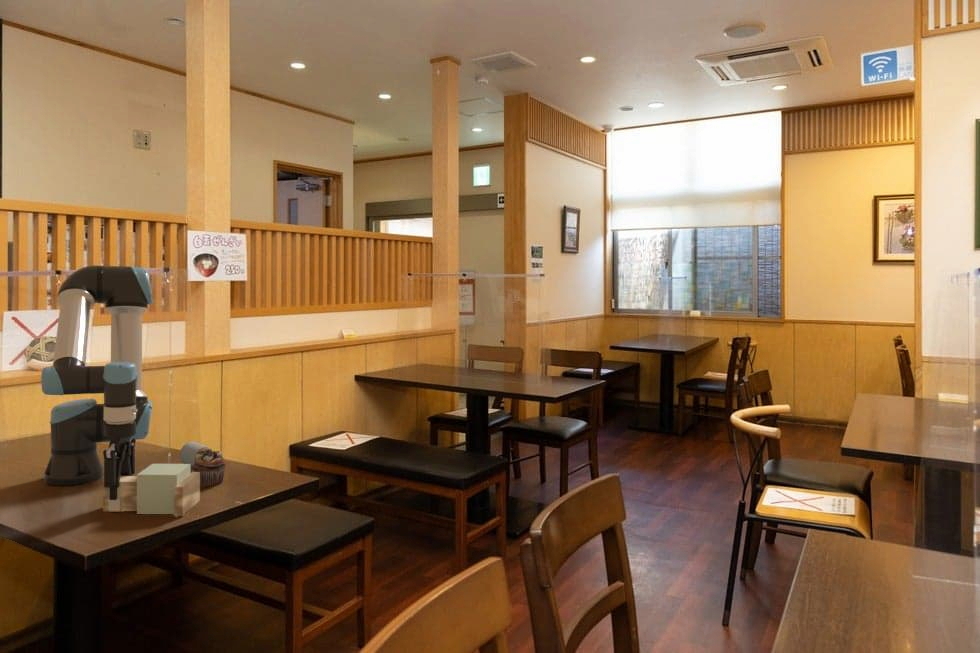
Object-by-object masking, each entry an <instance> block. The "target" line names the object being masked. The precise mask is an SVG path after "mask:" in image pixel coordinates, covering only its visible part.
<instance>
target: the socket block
mask: <svg viewBox="0 0 980 653" xmlns="http://www.w3.org/2000/svg"><path fill="white" fill-rule="evenodd" d="M191 468H192V466H191V464H183V463H151V464H150V465H148V466H146V468H144V469H142V470H141V471H140V472H138V473H137V474H136V476H137V512H136V515H137V514H175V486H177V485H178V484H179V483H180V482H181V481H182V480H184V479H185V478H186V477H187V476H188V475H190V474H191V473H192V469H191Z"/></svg>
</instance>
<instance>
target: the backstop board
mask: <svg viewBox="0 0 980 653" xmlns="http://www.w3.org/2000/svg"><path fill="white" fill-rule="evenodd" d="M200 500H201V486H200V472H192V471H191V474H190V475H188V476H187V477H186V478H185V479H184V480H182V481H181V482H180V483H179V484H178V485H177V486H175V515H174V517H175V516H183V515H184V514H185V513H186V512H187V511H188V510H189V509H190V508H191V509H193V507H195V506H196V504H198V503H199V502H200ZM191 509H190V510H191ZM190 510H189V511H190ZM189 511H188V512H189ZM188 512H187V513H188ZM187 513H186V514H187ZM186 514H185V515H186ZM185 515H184V516H185ZM184 516H183V517H184Z"/></svg>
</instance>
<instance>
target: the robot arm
mask: <svg viewBox="0 0 980 653" xmlns="http://www.w3.org/2000/svg"><path fill="white" fill-rule="evenodd" d="M151 287H152V286H151V281H150V275H149V271H148V270H147V269H146V268H144V267H138V266H121V265H119V266H117V265H116V266H115V265H114V266H113V265H94V264H93V265H88V266H87V265H86V266H84V267H81V268H79V269H77V270H75V271H73V272H72V273H71V274H69V275H68V277H66V279H65V280H64V281H63V282H62V283H61V285H60V286H59V288H58V292H57V295H56V297H57V298H56V303H57V305H58V307H59V311H58V312H59V314H58V319H57V320H58V321H57V329H56V337H55V343H54V344H55V345H54V351H53V352H54V354H53V361H52V365H51V366H47V367H43V369H42V371H41V377H40V378H41V379H40V383H41V386H40V387H41V390H42V394H44V395H46V396H47V395H48V396H66V395H68V396H69V395H84V394H85V395H86V394H87V395H89V394H91V395H92V394H93V395H95V394H103V403H98V401H97V400H96V399H94V398H83V399H82V398H81V399H74V400H69V401H65V402H62V403H58V404H57V405H54V406H53V407H52V409H51V410H50V420H49V424H50V457H49V460H48V463H47V465H46V469H45V471H44V474H43V477H44V478H43V482H44V483H45V484H47V485H49V486H60V487H61V486H75V485H83V484H88V483H91V482H95V481H97V480H99V479H102V478H103V481H104V487H105V488H109V511H108V512H122V511H121V486H119V482H120V476H136V475H135V473H136V450H135V449H136V441H137V440H143V439H145V438H147V436H148V435H149V430H150V425H151V423H150V422H151V419H152V418H151V417H152V410H153V402H152V401H150V400H149V398H148V395H147V394H146V393H145V392H144V391H143V316H144V314H145V313H146V312H147V311H148V305H152V304H153V294H152V288H151ZM95 304H105V308H104V309H105V311H106V312H108V314H110V362H108V363H106V364H104V365H87V366H86V363H87V362H86V361H87V351H88V350H87V349H88V342H89V340H88V338H89V328H90V317H91V316H90V315H91V310H92V309H93V308H94V306H95ZM97 443H108V449H104V450H103V451H102V455H103V460H104V461H103V464H102V461H101V459H100V456H99V453H98V450H97V449H98V448H97ZM103 465H104V466H103Z"/></svg>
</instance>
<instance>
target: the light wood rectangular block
mask: <svg viewBox="0 0 980 653" xmlns="http://www.w3.org/2000/svg"><path fill="white" fill-rule="evenodd" d="M119 486H121V511H120V512H124V511H137V475H135V476H121V475H120V482H119ZM102 512H110V511H109V488H105V487H104V480H103V481H102Z"/></svg>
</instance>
